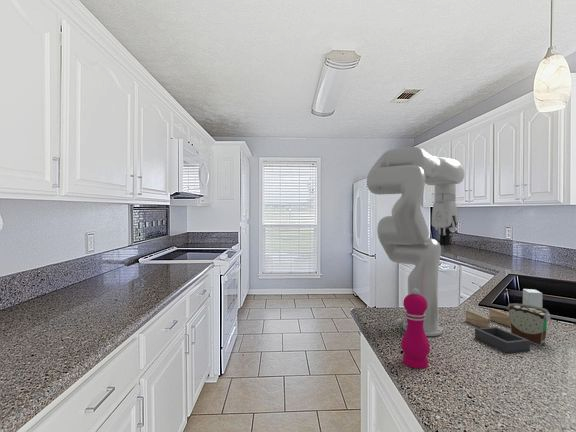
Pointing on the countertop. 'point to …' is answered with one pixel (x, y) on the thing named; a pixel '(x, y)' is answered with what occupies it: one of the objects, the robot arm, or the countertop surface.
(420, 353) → the pepper mill
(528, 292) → the skincare box
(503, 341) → the tray
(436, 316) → the robot arm
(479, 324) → the wooden channel
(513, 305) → the food container
